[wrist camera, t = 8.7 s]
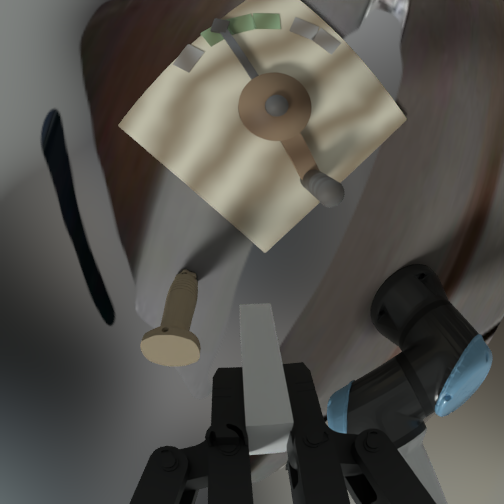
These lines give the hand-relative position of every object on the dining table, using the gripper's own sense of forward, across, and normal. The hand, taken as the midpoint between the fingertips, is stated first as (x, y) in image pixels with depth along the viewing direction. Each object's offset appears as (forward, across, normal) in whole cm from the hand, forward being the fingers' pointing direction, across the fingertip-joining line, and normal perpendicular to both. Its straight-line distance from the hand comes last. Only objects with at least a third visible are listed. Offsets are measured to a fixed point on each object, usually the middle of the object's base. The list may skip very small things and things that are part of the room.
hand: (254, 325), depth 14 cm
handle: (+24, -8, -12) cm, 28 cm away
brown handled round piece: (+23, +3, +13) cm, 26 cm away
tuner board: (+24, +4, +12) cm, 27 cm away
